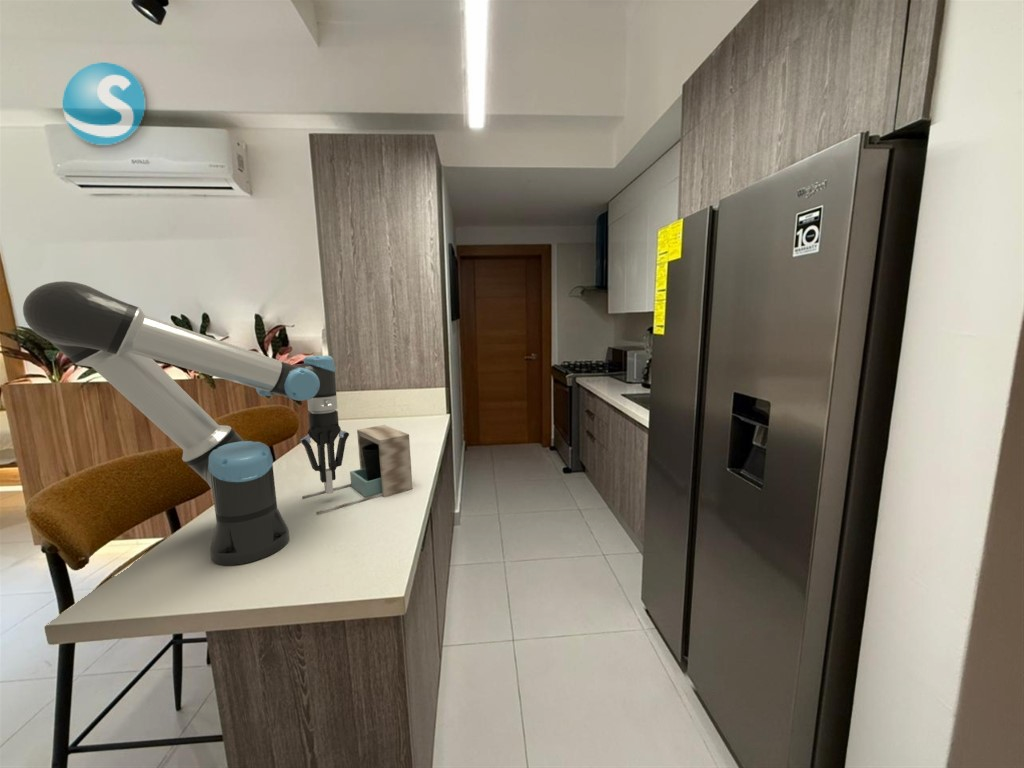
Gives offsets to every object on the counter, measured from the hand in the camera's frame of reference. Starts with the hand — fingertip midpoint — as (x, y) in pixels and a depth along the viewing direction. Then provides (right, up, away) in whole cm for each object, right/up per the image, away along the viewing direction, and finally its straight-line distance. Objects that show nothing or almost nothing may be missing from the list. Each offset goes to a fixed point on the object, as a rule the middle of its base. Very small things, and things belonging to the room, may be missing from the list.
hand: (328, 491), depth 120 cm
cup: (+11, 0, +9) cm, 15 cm away
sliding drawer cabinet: (+6, -2, +5) cm, 8 cm away
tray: (+11, -1, +10) cm, 15 cm away
